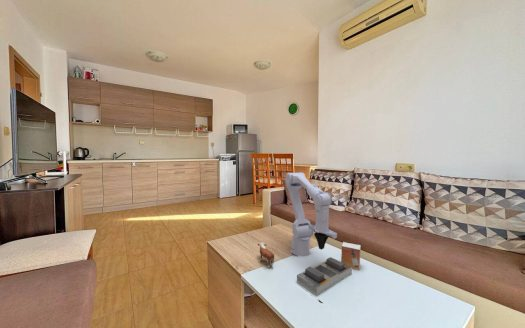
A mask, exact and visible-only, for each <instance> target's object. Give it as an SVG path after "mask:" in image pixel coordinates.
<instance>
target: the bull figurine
mask: <svg viewBox="0 0 525 328" xmlns="http://www.w3.org/2000/svg"><path fill="white" fill-rule="evenodd" d="M257 246H259V253H260V255H259V256H260V259H259V262H261V261H263V258H264V261H265V262H266V261H267V269H270V266H271V265H274V263H275V253H274V252H272V251H271V250H270V249H269V248H267V243H264V242H260V243H257Z"/></svg>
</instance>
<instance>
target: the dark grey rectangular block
mask: <svg viewBox="0 0 525 328" xmlns="http://www.w3.org/2000/svg"><path fill="white" fill-rule="evenodd" d="M325 261H326V264H327V265H329V266H330V267H332V268H334V269H336V270H338V271H340V272H341V271H343V270H344V263H342V262H341V260H338V259H336V258H334V259H333V257H328V258H326V260H325Z"/></svg>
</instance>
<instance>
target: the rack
mask: <svg viewBox="0 0 525 328" xmlns="http://www.w3.org/2000/svg"><path fill="white" fill-rule="evenodd" d="M332 258H333V257H332ZM333 259H335V258H333ZM312 268H313V269H315V270H317V271H319V272H320V273H322V274H324V281H323V282H321V283H320V284H319V283H317V282H315V281H314V280H312V279H311V278H309V277H307V276H306V275H305V270H304V271H302V272H300V273H298V274H296V283H297V284H298V285H300V286H301V287H303V288H305V289H306V290H307V291H309V292H310V293H312V294H313V295H314V296H316V297H318V296H319V295H320V294H322V293H324V292H326V291H327V290H328V289H330V288H332V287H333V286H335V285H336V284H338V283H340V282H341V281H342V280H344V279H346V278H347V277H349V276H351V275H352V271H353V269H352V267H351V266H349V265H346V264H344V270H343V271H341V272H340V271H338V270H336V269H334V268H332V267H330V266H329V265H327V264H326V260H325V261H324V260H323V262H320V263H318V264H317V265H314V266H313V267H312Z"/></svg>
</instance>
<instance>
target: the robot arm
mask: <svg viewBox="0 0 525 328" xmlns="http://www.w3.org/2000/svg"><path fill="white" fill-rule="evenodd" d="M284 182H285V187H286V189H287V190H288V192H289V196H290V197H289V198H290V200H291V206H292V210H293V213H294V218H295V220H294V221H293V223H292V224H291V226H292V227H291V228H292V234H293V236H292V237H291V240H290V242H291V244H290V249H291V250H290V251H289V252H290V253H291V254H293V255H294V256H297V257H298V256H301V257H307V256H309V255H310V250H311V249H310V245H311V244H310V242H311V241H310V240H311V238H312V236H314V238H315V239H316V241H317V246H318V249H320V251H321V250H324V249H325V245H326V243H327V240H328V239H329V238H330V237H331V238H332V239H334V240H335V239H337V238H338V233H337V232H335V231H333V230H331V229H329V221H330V206H331V205H332V203H333V199H332V195H331V194H330V192H324V191H323V190H322V189H321V188H320V187H319V186H318V185H317V184H314V183H313V184H312V183H311V182H310V181H309V180H308V178H307V177H306V174H305V173H304V172H301V171H300V172H287V173H286V175H285V178H284ZM302 187H303V188H304V189H305V190H306V194H307V195H308V196H309V197H311V199H312V201H313V204H314V209H315V224H311V221H310V220H309V219H307V218H306V216H305V211H304V207H303V204H302V200H301V197H300V191H299V190H300V189H301V188H302Z"/></svg>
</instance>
